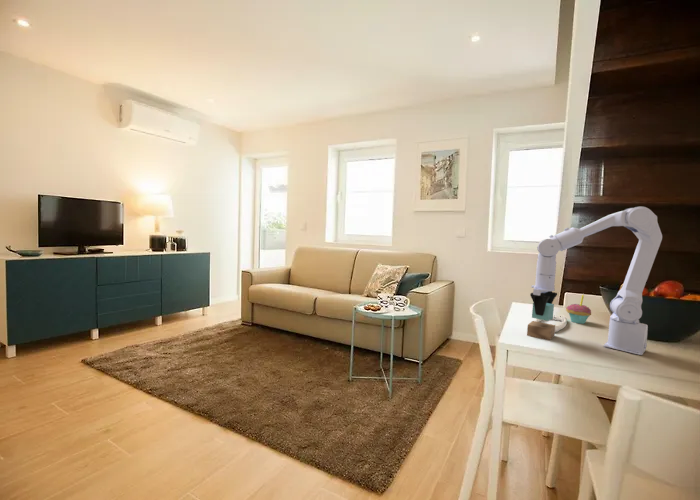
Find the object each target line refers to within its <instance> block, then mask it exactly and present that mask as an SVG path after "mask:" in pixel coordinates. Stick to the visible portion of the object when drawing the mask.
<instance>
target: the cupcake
mask: <svg viewBox="0 0 700 500" xmlns="http://www.w3.org/2000/svg"><path fill="white" fill-rule="evenodd" d="M584 297H585V294H584V293H582V295H581V298H580V303H572V304H569V305H568V306H566V307H565V311H566V312H567V314H568V315H569V318H570V321H571V322H573V323H574V324H580V325H581V324H586V322H587V320H588V319H589V317H590V316H592V310H591V309H590V307H588V306H587V305H583V301H584Z"/></svg>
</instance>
